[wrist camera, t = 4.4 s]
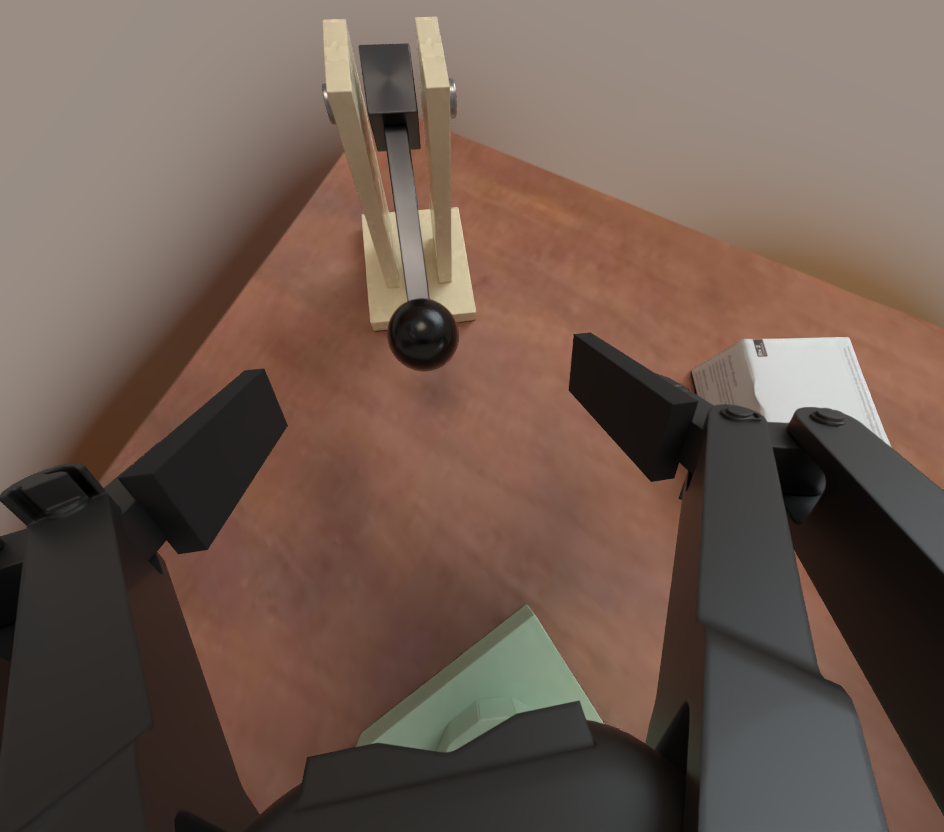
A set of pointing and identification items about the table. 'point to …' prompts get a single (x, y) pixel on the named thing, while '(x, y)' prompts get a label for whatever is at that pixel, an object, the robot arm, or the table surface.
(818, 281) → the table surface
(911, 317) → the table surface
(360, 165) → the cream lever bracket
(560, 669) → the button block
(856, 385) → the small box
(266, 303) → the table surface
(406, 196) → the lever
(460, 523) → the table surface
